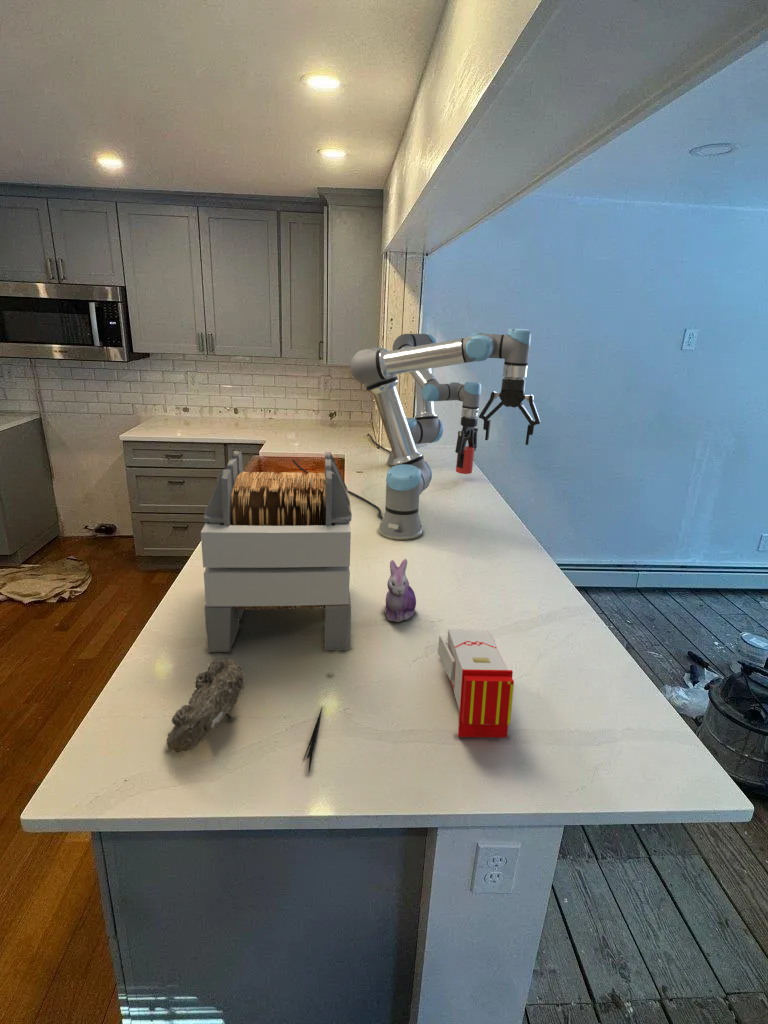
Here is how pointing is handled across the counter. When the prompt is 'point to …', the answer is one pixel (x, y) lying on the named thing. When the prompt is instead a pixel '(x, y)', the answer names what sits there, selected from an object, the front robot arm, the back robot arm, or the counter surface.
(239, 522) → the grey boxy piece
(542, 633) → the counter surface
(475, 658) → the toy
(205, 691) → the fossil
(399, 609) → the figurine
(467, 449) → the can
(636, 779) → the counter surface
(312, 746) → the feather
